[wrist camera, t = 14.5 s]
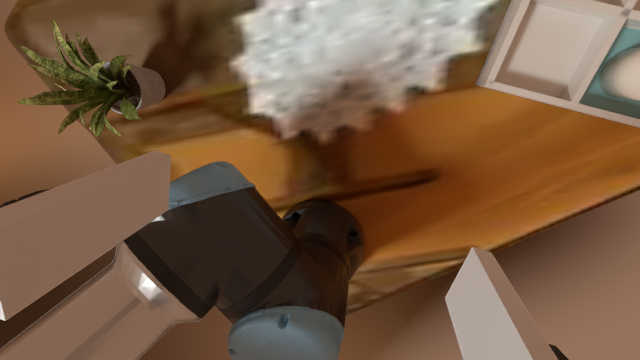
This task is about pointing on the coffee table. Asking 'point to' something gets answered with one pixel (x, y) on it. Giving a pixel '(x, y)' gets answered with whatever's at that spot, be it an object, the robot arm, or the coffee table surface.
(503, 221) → the coffee table surface
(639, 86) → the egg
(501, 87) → the divided tray
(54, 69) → the house plant
